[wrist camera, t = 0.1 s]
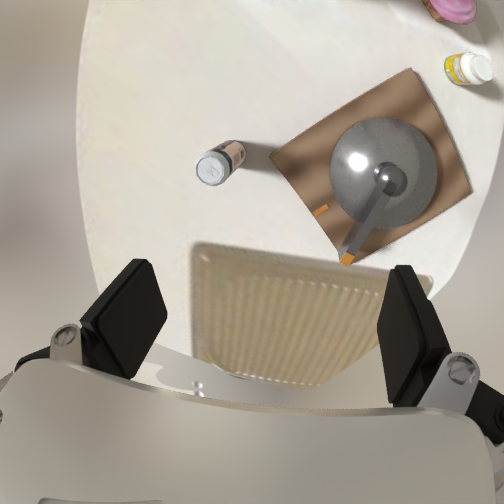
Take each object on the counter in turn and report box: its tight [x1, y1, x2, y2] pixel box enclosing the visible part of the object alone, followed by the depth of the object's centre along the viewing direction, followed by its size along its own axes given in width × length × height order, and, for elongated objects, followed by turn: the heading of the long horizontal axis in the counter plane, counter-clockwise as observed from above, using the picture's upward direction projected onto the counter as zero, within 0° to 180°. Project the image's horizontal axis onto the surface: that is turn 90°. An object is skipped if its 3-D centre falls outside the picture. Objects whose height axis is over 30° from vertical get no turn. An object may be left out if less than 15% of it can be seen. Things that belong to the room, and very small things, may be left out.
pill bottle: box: [195, 140, 246, 186], centre depth 39 cm, size 5×5×12 cm
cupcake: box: [423, 0, 477, 25], centre depth 19 cm, size 9×9×10 cm
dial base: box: [269, 68, 471, 265], centre depth 40 cm, size 24×28×2 cm
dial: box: [329, 116, 437, 266], centre depth 38 cm, size 24×18×6 cm
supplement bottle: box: [443, 53, 493, 85], centre depth 24 cm, size 5×5×10 cm
